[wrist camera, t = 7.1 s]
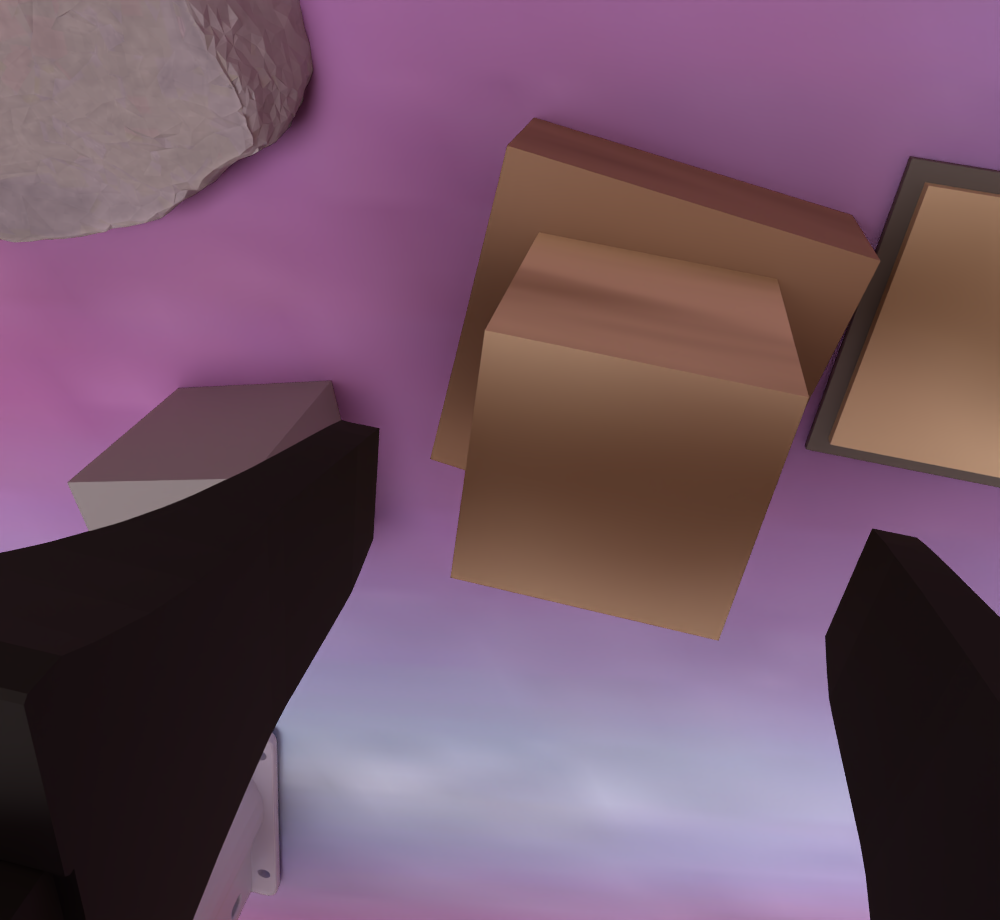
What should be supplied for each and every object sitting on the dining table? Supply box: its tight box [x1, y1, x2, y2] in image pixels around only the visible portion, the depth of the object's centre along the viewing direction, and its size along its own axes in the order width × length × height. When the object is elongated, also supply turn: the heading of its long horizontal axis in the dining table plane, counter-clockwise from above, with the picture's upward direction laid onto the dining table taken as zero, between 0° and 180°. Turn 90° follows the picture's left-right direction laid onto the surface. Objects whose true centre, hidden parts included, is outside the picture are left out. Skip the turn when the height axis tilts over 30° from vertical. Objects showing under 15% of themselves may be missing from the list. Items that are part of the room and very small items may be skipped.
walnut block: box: [430, 118, 880, 470], centre depth 19 cm, size 7×7×4 cm
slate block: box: [67, 381, 341, 531], centre depth 22 cm, size 4×4×5 cm
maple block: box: [451, 232, 809, 640], centre depth 15 cm, size 4×4×5 cm
